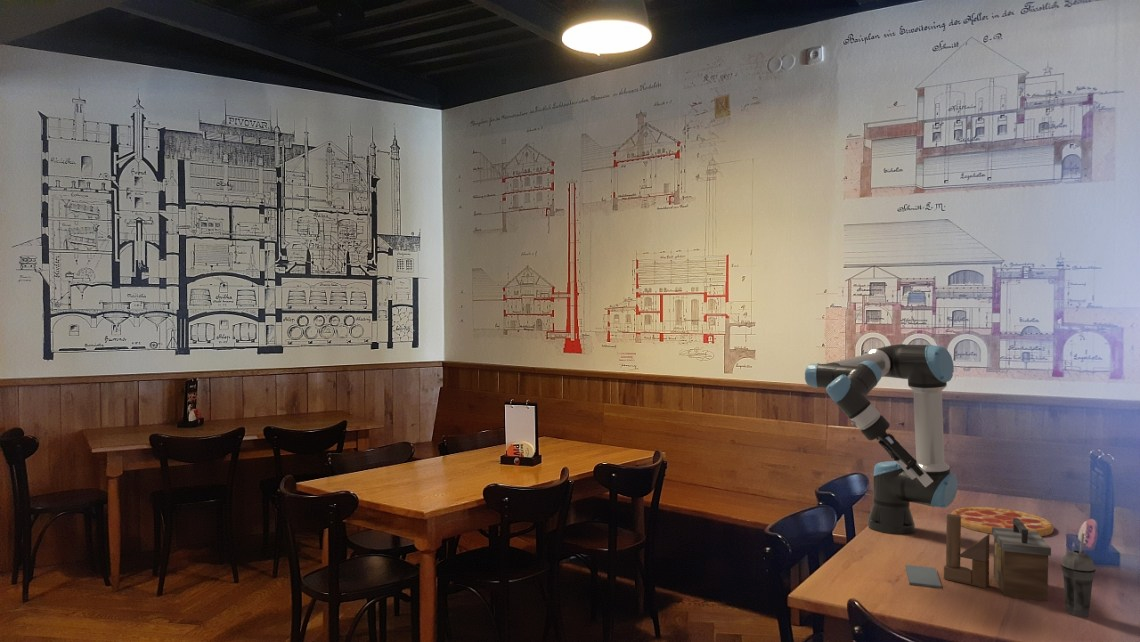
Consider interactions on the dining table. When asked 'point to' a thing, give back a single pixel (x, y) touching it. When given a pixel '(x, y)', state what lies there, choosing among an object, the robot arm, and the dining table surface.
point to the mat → (923, 576)
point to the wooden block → (965, 556)
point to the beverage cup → (1078, 581)
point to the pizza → (1000, 519)
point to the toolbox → (1021, 562)
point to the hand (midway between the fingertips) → (922, 480)
